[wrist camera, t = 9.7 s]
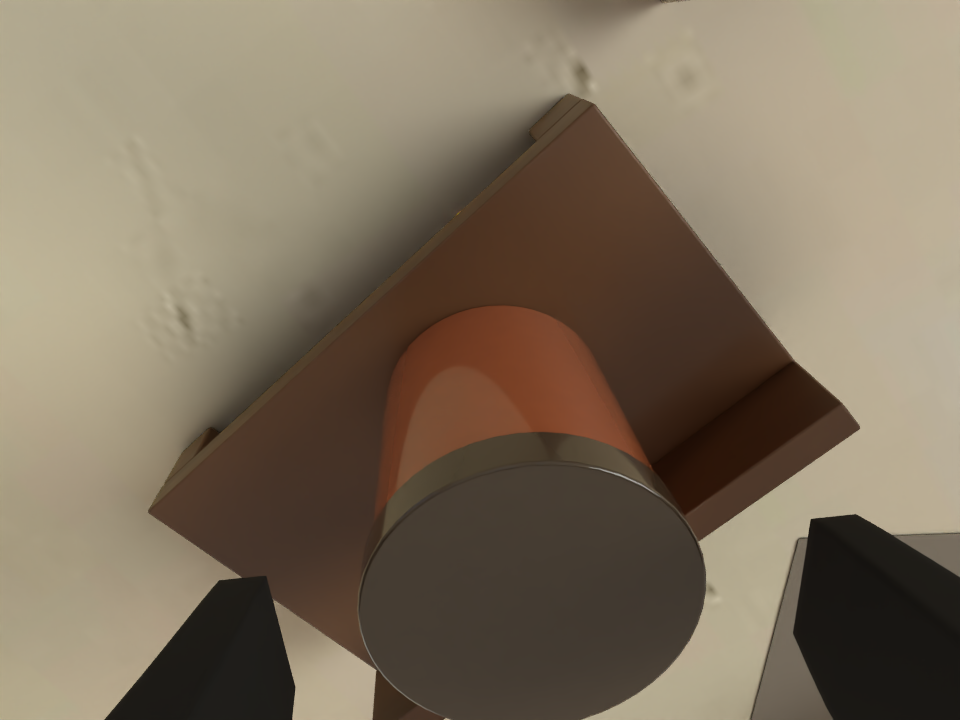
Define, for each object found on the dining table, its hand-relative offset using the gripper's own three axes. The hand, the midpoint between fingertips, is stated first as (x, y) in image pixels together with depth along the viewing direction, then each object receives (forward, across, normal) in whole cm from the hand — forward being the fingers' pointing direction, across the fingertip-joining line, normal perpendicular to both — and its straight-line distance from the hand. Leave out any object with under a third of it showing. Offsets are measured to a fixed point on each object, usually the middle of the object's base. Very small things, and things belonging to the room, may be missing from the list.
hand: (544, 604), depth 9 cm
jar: (+6, 0, 0) cm, 6 cm away
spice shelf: (+9, +1, +2) cm, 9 cm away
